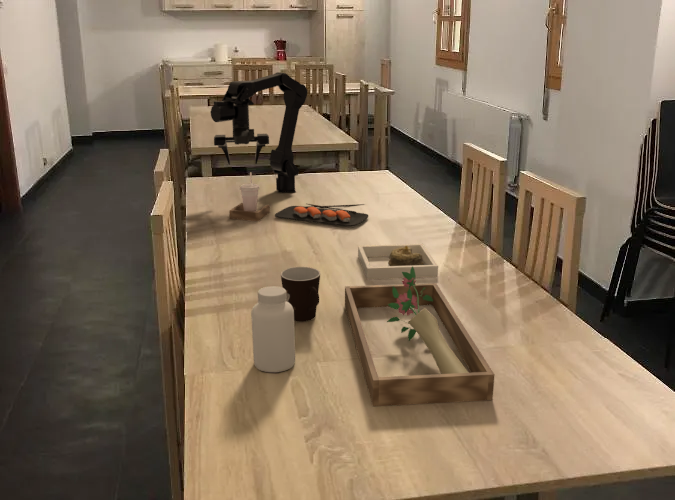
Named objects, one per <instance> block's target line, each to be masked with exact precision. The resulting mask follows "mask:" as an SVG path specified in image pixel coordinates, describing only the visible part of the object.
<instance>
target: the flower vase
mask: <svg viewBox="0 0 675 500" xmlns="http://www.w3.org/2000/svg"><path fill="white" fill-rule="evenodd" d="M402 274H403V276H404V278H402V280H401V283H402V284H404V286H405V287H406V288H407V287H408V288H409V290H408V292H407V293H404V294H403V295H401V294H400V296H399V294H398V292H397V290H396V288H395V287H394V286H393V290H392V292H393V296H394V298H397V302H396V303H390V304H388V305H389V306H390V307H389V308H391V309H393V310H397V311H398V313H399V314H401V315H403V316H405V315H406V316H410V315H411V314H414V316H413V317H412V318H411V319H409V320H408V321H407V322H406V321H404V320H402V319H400V318H399V317H398V316H394V317H390V318H389V319H388V320H387V321H386V323H393V322H400V321H401V322H404V323H406V324H408V325H410V327H411V328H410V327H407V326H402V327H401V329H400V331H401V334H402V333H405V332H406V331H408V334H407V337H408V341H409V342H410V341H411V340H412V339H414V337H415V335H416V334H417V335H418V336H419V337H420V338H421V341H423V342H424V344H425V346H426V348H427V349H428V350H429V352H430V353H431V355H432V357H433V359H434V361H435V363H436V366H437V368H438V370H439V372H440V373H439V374H454V373H469V371H468V370H467V368H466V367H465V366H464V365H463V363H462V362H461V360H460V359H459V358H458V356H457V355H456V354H455V352H454V351H453V350H452V348H450V346H449V345H448V343H447V341H446V339H445V337H444V336H443V334H442V332H441V331H440V327H439V322H438V319H437V318H436V316H434V315H433V313H431V312H430V311H429V310H428V309H427V308H426V307H425V308H423V309H422V310H420V306H419V298H418V292H417V290H416V288H415V287H414V286H413V285H415V284H417V283H416V281H417V280H416V279H417V278H415V277H416V275H415V270H414V268H413V266H412V268H411V270H410V273H408V272H402ZM408 285H409V286H408ZM412 286H413V287H414V289H415V291H416V293H417V297H415V295H413V296H412V293H411V290H410V287H412ZM424 289H425V287H424V288H423V290H424ZM423 290H422V291H423ZM422 291H421V292H422ZM421 292H420V293H421ZM398 296H399V297H398ZM419 296H420V295H419ZM421 297H422V296H421ZM423 300H427V301H433V299H432V298H431V297H430V296H429V295H425V296H424V297H423ZM416 301H417V302H416ZM416 310H417V311H416Z"/></svg>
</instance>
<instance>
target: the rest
mask: <svg viewBox="0 0 675 500" xmlns="http://www.w3.org/2000/svg"><path fill="white" fill-rule="evenodd" d="M270 207H271V206H270V204H266V205H264V206H262V207H261V208H260V209H258V210H257V211H256V212H253V211H244V207H243V202H241V203H239V204H237V205H236V206H234V207H232V208H231V209H230V210H229V211H228V212H229V220H236V221H237V220H238V221H239V220H240V221H250V222H251V221H252V222H260V221H261V220H263V219H264V218H265V217H267V216H268V215H269V214H270V213H271V208H270Z"/></svg>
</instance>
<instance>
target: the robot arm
mask: <svg viewBox="0 0 675 500" xmlns="http://www.w3.org/2000/svg"><path fill="white" fill-rule="evenodd" d="M275 87H278V89H279V91H281V92H283V102H284V104H285V110H284V115H283V120H282V124H281V125H282V126H281V130H280V135H279V139H278V145H277V147H276V148H275V149H271V151H270V157H269V159H268V161H269V164H270V167H271V169H272V171H273V173H274V174H276V175H277V177H276V178H275V183H276V184H275V185H276V187H275V189H276V191H277V193H296V192H297V191H296V176H299V173H300V169H299V167H298V166H297V165H296V164H295V163H294V160H295V156H294V153H293V149H292V148H293V142H294V138H295V133H296V127H297V123H298V117H299V112H300V109H301V108H302V107H303V106H304V104H305V102H306V100H307V97H308V88H307V87H306V85H305V84H304V83H301V82H299V81H297V80H295V79H294V78H293V77H291V76H290V75H289V74H287V73H286V72H275V73H272V74H269V75H265V76H261V77H259V78H255V79H251V80H233V81H231V82H230V83H229V84H228V86H227V90H226V92H225V94H224V96H223V98H222V100H221V101H219V100H215V101H213V105H212V106H211V109H210V118H211V120H213V122H214V123H222V122H229V121H232V122H231V123H232V124H231V125H232V136H226V135H227V134H215V135H214V136H213V145H214V146H217V147H218V149H219V148H220V149H221V150H222V151H223V154H224V156H225V159H226V161H227V163H228V164H227V165H228V166H230V165H231V161H230V160H231V159H230V154H229V149H228V143H229V144H230V143H234V144H235V145H248V144H249V143H256V145H255V157H254V160H255V161H254V163H255V165H257V164H258V161H259V160H258V159H259V156H260V153H261V151H262V149H263V147H266V145H269V144H270V137H269V136H270V135H269V134H268V133H257V135H256V136H255V129H254V128H250V115H249V114H250V112H249V111H250V110H249V106H253V105H254V104H255V103H254V102H253V100H251V99H250V98H251V97H254V96H255V94H256V93H258V92H262V91H265V90H268V89H271V88H275Z"/></svg>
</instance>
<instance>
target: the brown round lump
mask: <svg viewBox="0 0 675 500" xmlns="http://www.w3.org/2000/svg"><path fill="white" fill-rule="evenodd" d="M388 258H389V260H388V262H387V264H388V266H414V265H426V264H425V262H424V261H423V259H422V255H421V254H418V253H412V248H409V247H408V246H405V247H400V248H396V249H394V250H393V251H392V252H391V254H390V256H388Z"/></svg>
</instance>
